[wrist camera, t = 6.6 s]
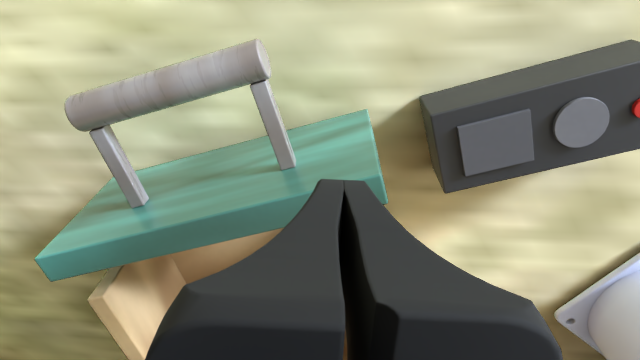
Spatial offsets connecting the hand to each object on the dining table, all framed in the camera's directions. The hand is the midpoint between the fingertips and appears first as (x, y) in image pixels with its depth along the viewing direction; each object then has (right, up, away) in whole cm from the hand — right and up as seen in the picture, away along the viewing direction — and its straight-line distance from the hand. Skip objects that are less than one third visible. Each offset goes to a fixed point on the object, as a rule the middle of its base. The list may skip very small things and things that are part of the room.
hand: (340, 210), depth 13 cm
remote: (+9, +4, +9) cm, 13 cm away
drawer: (-4, -1, +11) cm, 11 cm away
